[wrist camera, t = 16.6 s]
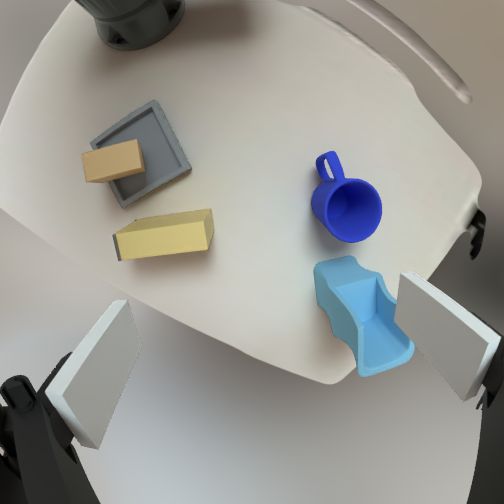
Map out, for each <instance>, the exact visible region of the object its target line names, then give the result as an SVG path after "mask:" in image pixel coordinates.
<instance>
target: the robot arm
mask: <svg viewBox="0 0 504 504" xmlns="http://www.w3.org/2000/svg"><path fill="white" fill-rule="evenodd" d="M75 1H76V2H77V3H78V4H79V5H81V6H82V7H83V8H84V9H85V10H86V11H87V12H89V13H90V14H91V15H92V16H93V17H94V19H95V23H96V27H97V31H98V34H99V36H100V37H101V39H102V40H103V41H104V42H106V43H107V44H108V45H109V46H111V47H112V48H115V49H118V50H124V51H130V50H137V49H141V48H145V47H147V46H150V45H152V44H154V43H156V42H158V41H160V40H161V39H163V38H164V37H165V36H167V35H168V34H169V33H170V32H171V31H172V30H173V29H174V28H175V27H176V26H177V24H178V23H179V21H180V20H181V18H182V16H183V13H184V7H185V4H184V0H75ZM394 322H395V323H396V324H397V325H398V326H399V327H400V329H401V330H402V331H403V332H404V333H405V334H406V335H407V336H408V337H409V339H410V340H411V341H412V342H413V343H414V344H415V345H416V346H417V348H418V349H419V350H420V351H421V352H422V353H423V355H424V356H425V357H426V358H427V359H428V360H429V361H430V363H431V364H432V365H433V366H434V367H435V369H436V370H437V371H438V372H439V373H440V374H441V376H442V377H443V378H444V379H445V380H446V382H447V383H448V384H449V385H450V386H451V388H452V389H453V390H454V391H455V392H456V394H457V395H458V396H459V398H460V399H461V400H462V401H463V402H464V401H466V400H468V399H470V398H472V397H474V396H476V394H477V392H478V391H479V388H480V386H481V384H483V385H484V386H485V387H486V389H485V391H484V393H483V395H482V397H481V399H480V401H479V403H478V404H477V407H476V409H478V408H479V406H480V405H481V404H482V403H483V405H482V409H481V410H482V421H481V432H480V440H479V448H478V455H477V460H476V466H475V471H474V476H473V481H472V485H471V490H470V493H469V497H468V501H467V504H504V336H503V335H501V334H500V333H499V332H498V331H496V330H495V329H494V328H492V327H491V326H490V325H487V323H486V322H485V321H484V320H481V318H480V317H478V316H477V315H476V314H475V313H473V312H470V311H468V310H466V309H465V308H463V307H462V306H461V305H459V304H458V303H457V302H455V301H454V300H452V299H451V298H450V297H448V296H447V295H446V294H444V293H443V292H441V291H440V290H439V289H437V288H436V287H434V286H433V285H432V284H430V283H429V282H427V281H426V280H424V279H423V278H422V277H420V276H419V275H417V274H416V273H414V272H413V271H410V272H404V273H400V280H399V289H398V296H397V304H396V310H395V317H394ZM141 349H142V346H141V342H140V340H139V336H138V333H137V330H136V326H135V323H134V319H133V316H132V312H131V309H130V305H129V302H128V300H114V301H113V302H112V304H111V305H110V306H109V307H108V308H107V310H106V311H105V312H104V313H103V314H102V316H101V317H100V318H99V319H98V321H97V322H96V323H95V325H94V326H93V327H92V328H91V329H90V331H89V332H88V333H87V335H86V336H85V337H84V338H83V340H82V341H81V342H80V344H79V345H78V346H77V348H76V349H75V350H74V352H70V353H68V354H67V355H66V356H64V357H63V358H62V359H61V360H60V362H59V363H58V364H57V365H56V368H54V370H53V371H52V372H51V374H50V375H49V376H48V377H47V379H46V380H45V382H44V383H43V384H42V386H41V387H40V389H39V390H38V392H37V393H36V391H35V390H34V388H33V386H32V384H31V383H30V381H29V379H28V378H27V377H26V376H24V375H17V376H13V377H11V378H9V379H7V380H6V381H5V382H4V383H3V384H2V386H1V387H0V394H1V395H2V397H3V399H4V400H5V402H6V403H7V405H8V406H6V407H5V406H2V405H1V404H0V447H1V448H2V449H3V450H4V455H3V456H2V455H1V454H0V504H100V502H99V500H98V498H97V496H96V494H95V492H94V490H93V488H92V486H91V484H90V482H89V480H88V478H87V476H86V474H85V471H84V469H83V467H82V465H81V462H80V460H79V458H78V455H77V453H76V450H75V448H74V446H73V445H72V444H71V441H72V439H73V437H75V438H76V439H77V441H78V442H79V443H80V444H81V446H85V447H89V448H94V449H99V447H100V444H101V442H102V439H103V437H104V434H105V432H106V429H107V427H108V424H109V422H110V419H111V417H112V415H113V412H114V410H115V407H116V405H117V403H118V400H119V398H120V396H121V393H122V391H123V389H124V386H125V384H126V382H127V380H128V378H129V375H130V373H131V371H132V369H133V366H134V364H135V362H136V360H137V358H138V356H139V353H140V351H141Z"/></svg>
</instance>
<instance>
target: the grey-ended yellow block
mask: <svg viewBox="0 0 504 504" xmlns="http://www.w3.org/2000/svg"><path fill="white" fill-rule="evenodd" d="M213 233H214V226H213V219H212V211H211V209H205V210H197V211H190V212H183V213H176V214H169V215H163V216H156V217H150V218H144V219H138V220H135V221H134V222H133V223H131V224H130V225H128V226H126V227H125V228H123V229H121V230H120V231H118V232H117V233H115V234H113V240H114V244H115V249H116V253H117V257H118V261H121V260H128V259H136V258H144V257H152V256H160V255H168V254H176V253H184V252H193V251H201V250H208V248H209V245H210V242H211V239H212V236H213Z"/></svg>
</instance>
